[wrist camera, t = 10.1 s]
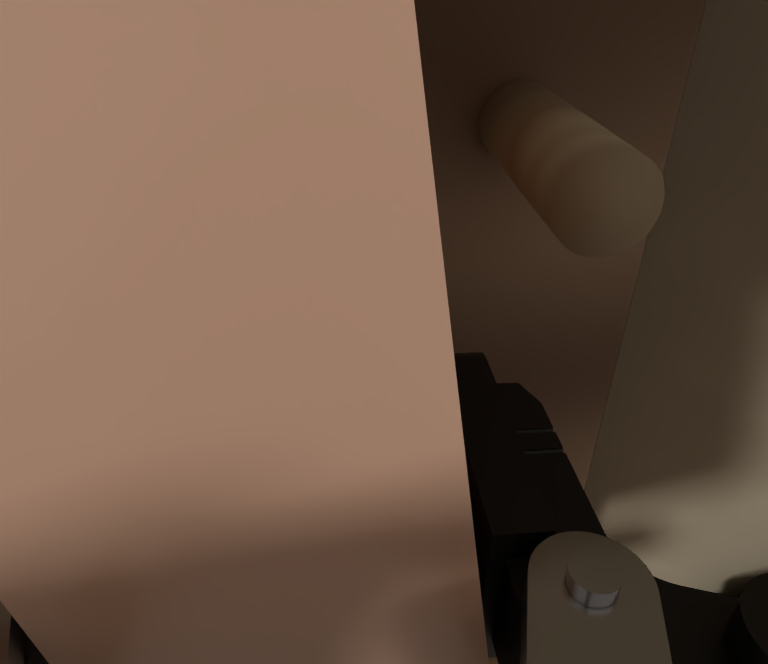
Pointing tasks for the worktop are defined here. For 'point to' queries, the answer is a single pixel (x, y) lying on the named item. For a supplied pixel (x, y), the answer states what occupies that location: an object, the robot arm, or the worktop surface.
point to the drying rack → (551, 182)
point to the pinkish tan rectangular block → (227, 339)
